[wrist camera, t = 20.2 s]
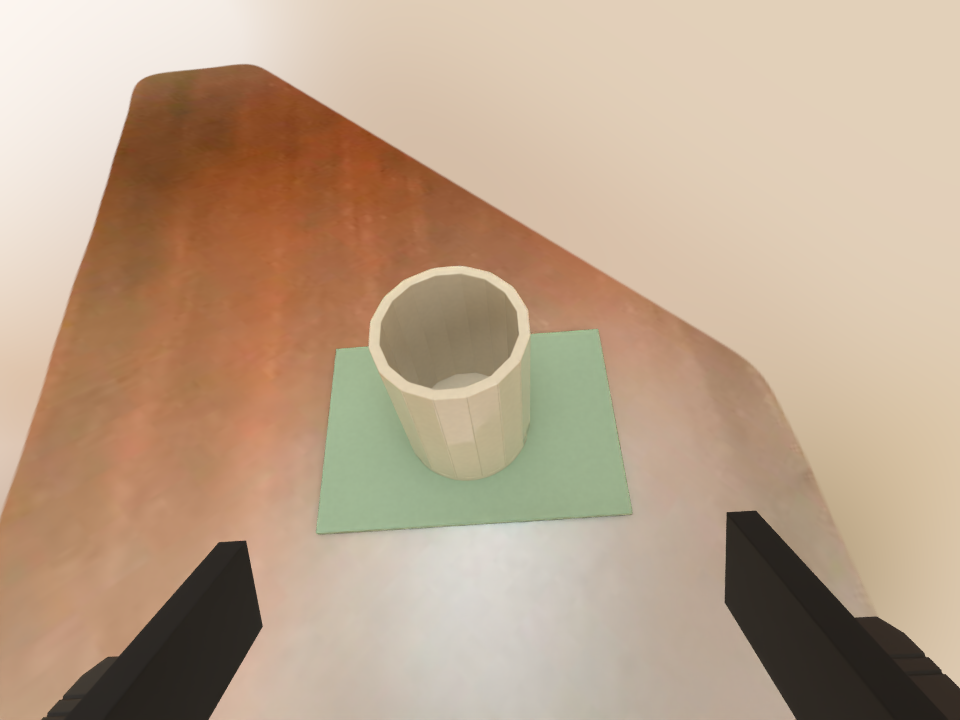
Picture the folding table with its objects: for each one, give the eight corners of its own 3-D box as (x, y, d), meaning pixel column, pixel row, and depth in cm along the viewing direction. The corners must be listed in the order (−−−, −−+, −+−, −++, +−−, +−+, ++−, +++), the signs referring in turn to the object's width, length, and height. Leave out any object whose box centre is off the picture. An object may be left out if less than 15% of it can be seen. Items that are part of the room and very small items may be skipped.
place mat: (597, 331, 43) (598, 328, 42) (631, 514, 35) (632, 513, 35) (337, 351, 44) (336, 348, 43) (317, 534, 36) (315, 533, 36)
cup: (523, 366, 41) (522, 260, 31) (534, 476, 37) (537, 392, 27) (409, 375, 41) (373, 272, 32) (406, 485, 37) (363, 405, 27)
